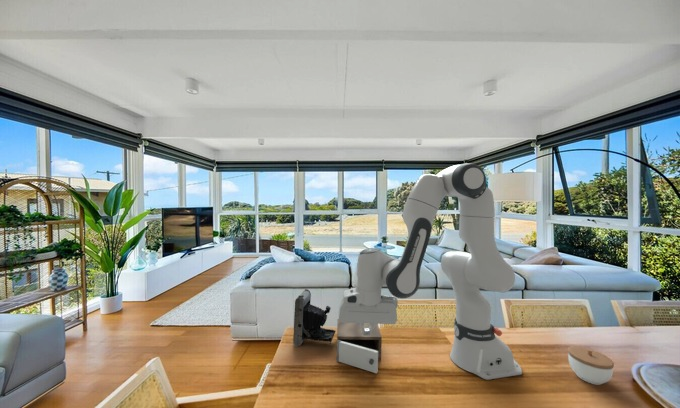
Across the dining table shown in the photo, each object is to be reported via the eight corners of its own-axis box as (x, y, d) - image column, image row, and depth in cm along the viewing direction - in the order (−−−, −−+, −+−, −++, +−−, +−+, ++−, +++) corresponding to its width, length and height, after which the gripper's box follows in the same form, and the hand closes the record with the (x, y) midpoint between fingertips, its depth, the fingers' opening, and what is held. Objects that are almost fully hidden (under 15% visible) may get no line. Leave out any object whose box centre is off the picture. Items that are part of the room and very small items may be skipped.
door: (377, 372, 83) (378, 350, 83) (376, 376, 81) (376, 353, 81) (337, 359, 89) (338, 339, 89) (335, 362, 87) (335, 342, 87)
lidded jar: (558, 366, 88) (559, 340, 88) (589, 367, 87) (590, 341, 87) (587, 389, 77) (589, 360, 77) (623, 391, 77) (624, 361, 77)
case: (375, 339, 103) (376, 319, 102) (381, 360, 90) (381, 336, 89) (337, 339, 102) (337, 318, 102) (337, 359, 89) (337, 336, 89)
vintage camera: (330, 353, 94) (333, 301, 94) (291, 346, 97) (294, 295, 97) (335, 339, 103) (338, 292, 103) (300, 333, 106) (303, 287, 106)
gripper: (395, 292, 89) (394, 330, 89) (339, 290, 89) (337, 328, 89) (400, 299, 83) (398, 340, 83) (339, 297, 83) (337, 338, 83)
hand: (366, 334), depth 86 cm, fingers closed
